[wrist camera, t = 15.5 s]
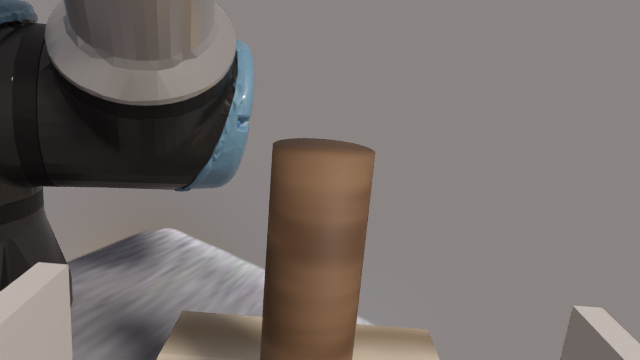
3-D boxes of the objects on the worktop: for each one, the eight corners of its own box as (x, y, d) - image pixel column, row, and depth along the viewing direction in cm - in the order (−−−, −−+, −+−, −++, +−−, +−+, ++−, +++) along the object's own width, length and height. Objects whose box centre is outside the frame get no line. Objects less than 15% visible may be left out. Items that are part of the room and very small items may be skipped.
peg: (244, 465, 28) (262, 137, 23) (320, 449, 29) (350, 139, 25) (263, 537, 24) (289, 159, 19) (350, 515, 25) (393, 159, 21)
